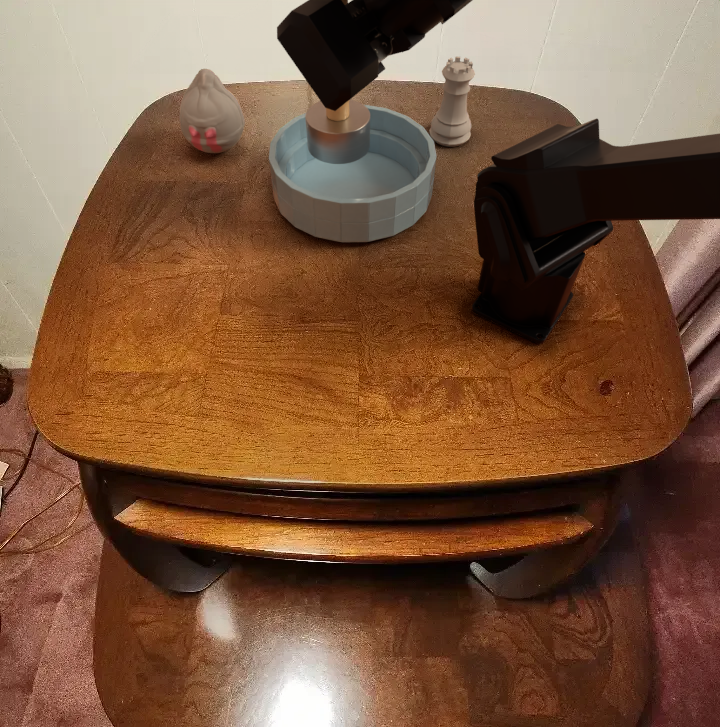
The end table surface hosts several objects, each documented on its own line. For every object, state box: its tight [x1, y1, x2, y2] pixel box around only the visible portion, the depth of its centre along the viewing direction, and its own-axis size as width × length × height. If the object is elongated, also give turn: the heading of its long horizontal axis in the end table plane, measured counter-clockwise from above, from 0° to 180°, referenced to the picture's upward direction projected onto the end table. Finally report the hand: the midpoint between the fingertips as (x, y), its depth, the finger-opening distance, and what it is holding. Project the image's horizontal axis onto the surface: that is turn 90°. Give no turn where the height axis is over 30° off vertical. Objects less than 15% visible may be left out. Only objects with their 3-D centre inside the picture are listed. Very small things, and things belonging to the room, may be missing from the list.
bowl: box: [268, 103, 437, 243], centre depth 59 cm, size 15×15×5 cm
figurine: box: [179, 68, 246, 154], centre depth 62 cm, size 6×7×8 cm
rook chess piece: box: [429, 56, 476, 148], centre depth 63 cm, size 4×4×8 cm
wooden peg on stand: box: [305, 0, 370, 164], centre depth 50 cm, size 6×6×14 cm
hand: (322, 69), depth 51 cm, fingers closed on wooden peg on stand
